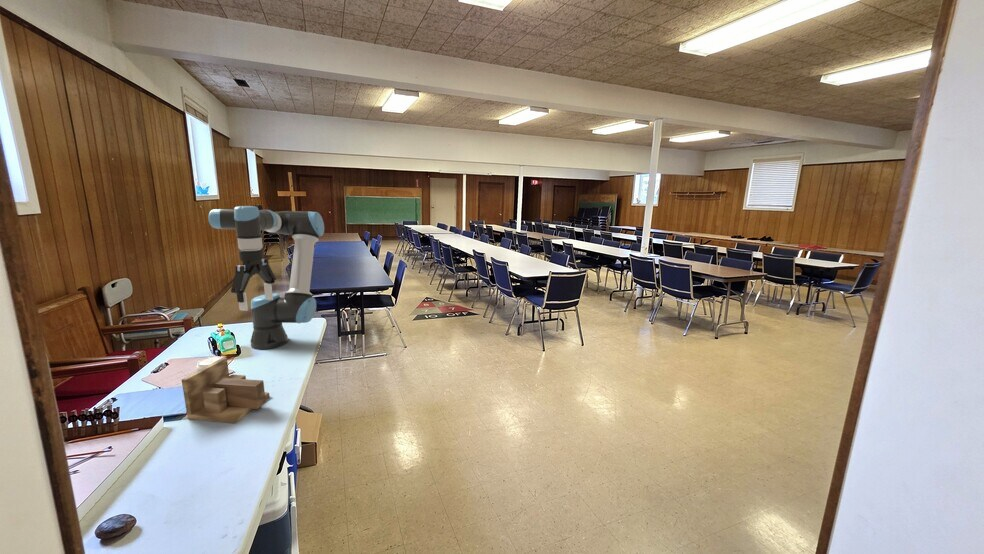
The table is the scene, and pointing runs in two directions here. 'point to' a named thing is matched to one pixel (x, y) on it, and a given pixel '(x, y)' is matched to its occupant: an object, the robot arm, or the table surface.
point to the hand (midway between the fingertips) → (257, 304)
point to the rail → (242, 392)
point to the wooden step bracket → (211, 394)
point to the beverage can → (207, 362)
